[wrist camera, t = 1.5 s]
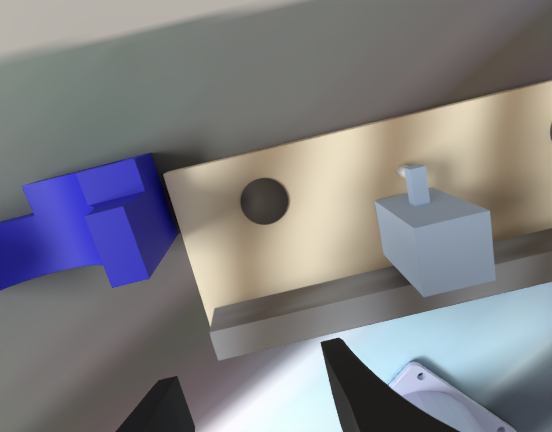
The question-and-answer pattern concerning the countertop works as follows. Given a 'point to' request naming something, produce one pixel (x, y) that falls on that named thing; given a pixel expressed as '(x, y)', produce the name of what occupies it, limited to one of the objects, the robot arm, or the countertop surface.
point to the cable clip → (91, 224)
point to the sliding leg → (435, 236)
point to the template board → (360, 218)
